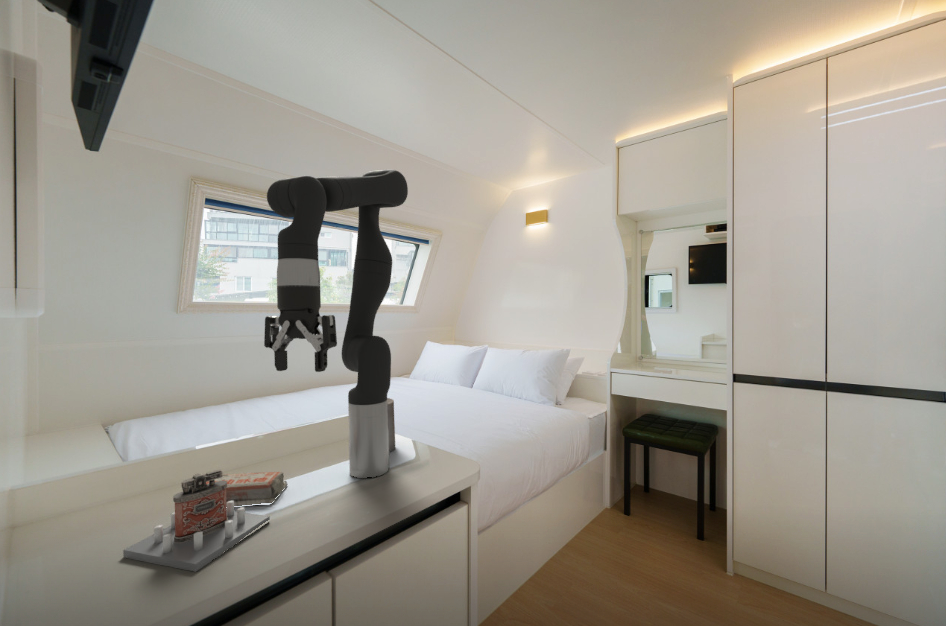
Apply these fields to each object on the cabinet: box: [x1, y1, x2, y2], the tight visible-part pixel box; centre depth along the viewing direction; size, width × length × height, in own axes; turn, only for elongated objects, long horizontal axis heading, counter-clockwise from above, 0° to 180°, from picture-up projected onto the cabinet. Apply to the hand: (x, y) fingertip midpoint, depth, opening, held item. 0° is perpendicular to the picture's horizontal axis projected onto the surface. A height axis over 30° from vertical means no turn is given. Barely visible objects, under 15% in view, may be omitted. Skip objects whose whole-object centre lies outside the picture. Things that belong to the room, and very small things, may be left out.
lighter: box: [172, 468, 228, 543], centre depth 72 cm, size 8×3×10 cm, turn 141°
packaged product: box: [206, 471, 288, 507], centre depth 88 cm, size 18×5×10 cm
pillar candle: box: [387, 397, 396, 453], centre depth 117 cm, size 10×10×15 cm
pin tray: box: [122, 501, 271, 573], centre depth 72 cm, size 15×15×4 cm
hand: (300, 370), depth 78 cm, fingers open, 8 cm apart
